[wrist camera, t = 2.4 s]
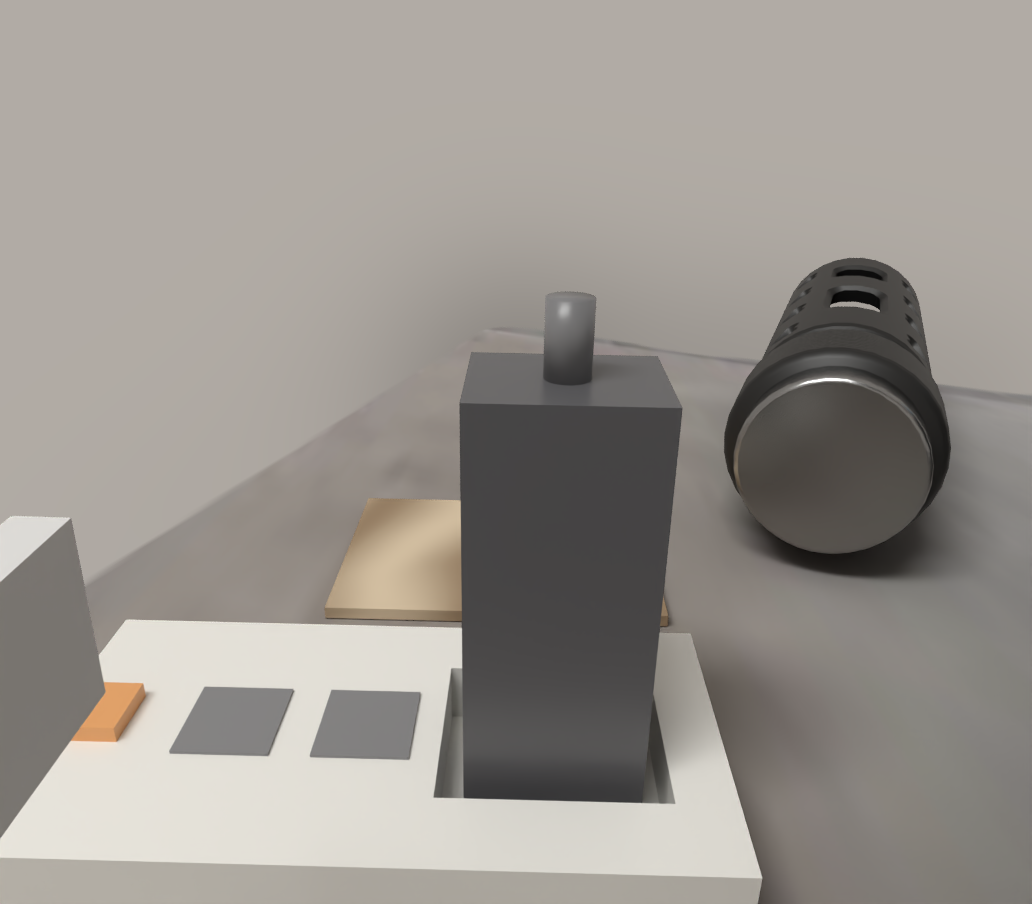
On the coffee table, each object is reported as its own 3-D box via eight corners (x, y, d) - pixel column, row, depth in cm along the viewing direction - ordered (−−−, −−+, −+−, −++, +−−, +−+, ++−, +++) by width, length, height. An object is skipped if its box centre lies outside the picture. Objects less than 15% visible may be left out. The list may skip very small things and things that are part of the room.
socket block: (683, 690, 30) (691, 621, 29) (749, 948, 21) (765, 863, 20) (137, 676, 31) (123, 607, 29) (-31, 926, 21) (-61, 841, 20)
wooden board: (638, 513, 43) (639, 504, 43) (667, 626, 34) (668, 616, 34) (369, 506, 43) (368, 498, 43) (325, 618, 34) (324, 607, 34)
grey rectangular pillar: (624, 736, 28) (664, 281, 22) (638, 835, 24) (691, 320, 18) (472, 732, 28) (470, 278, 22) (463, 831, 24) (458, 315, 18)
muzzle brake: (907, 404, 60) (938, 259, 56) (923, 606, 36) (980, 378, 32) (771, 386, 63) (791, 247, 59) (702, 560, 39) (728, 348, 35)
